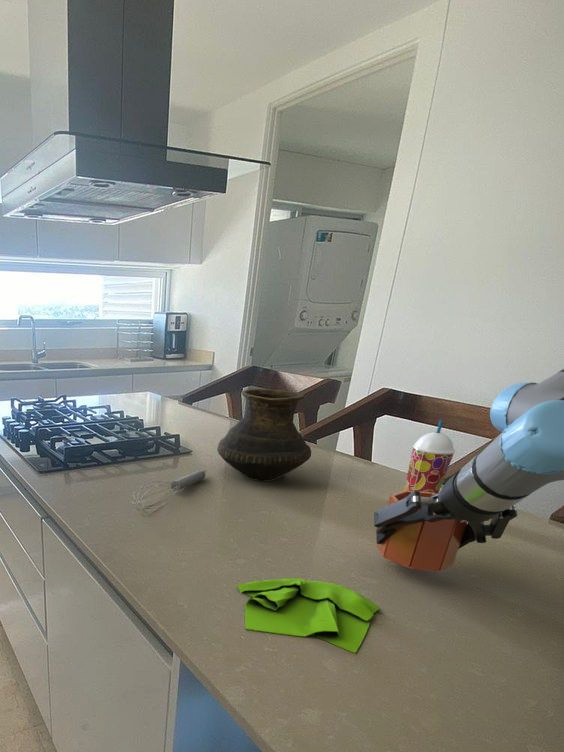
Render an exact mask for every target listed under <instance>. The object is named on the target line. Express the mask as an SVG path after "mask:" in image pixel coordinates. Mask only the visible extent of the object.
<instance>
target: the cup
mask: <svg viewBox="0 0 564 752" xmlns="http://www.w3.org/2000/svg"><path fill="white" fill-rule="evenodd" d="M411 492H414V491H407V490H405V491H404V489H403V490H400V491H397V492H394V493H391V494H390V495H389V499H388V503H387V506H388V505H391V504H393V503H395V502H397V501H399V500H401V499H404V498H406V497H407V496H408V495H409V494H410V493H411ZM434 494H435V493H431V492H420V496H421V497H431V496H432V495H434ZM433 515H436V514H435V513H434V512H433ZM467 524H468V522H467V521H465V520H455V519H451V520H447V519H444V520H440V521H436V522H429V521H423V522H419V523H415V524H411V525H407V526H403V527H399V528H396V532H395V533H394V534H392V535H391V536H390V537H389V538H388V539H386V540H385V541H384V542H383V543H382V544H377V543H376V548H377V549H378V551H379V552H380V554H381V556H382V557H383V558H384V559H386V560H387V561H391V562H394V563H396V564H398V565H401V566H402V567H405V568H408V569H409V568H410V569H411V570H420V571H430V572H437V573H438V572H442V571H444V570H446V569H448V568H450V567H452V566H454V562H455V560H456V557H457V555H458V551H459V549H458V548H459V545H460V542H461V540H462V537H463V534H464V531H465V528H466V525H467Z"/></svg>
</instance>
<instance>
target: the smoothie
mask: <svg viewBox="0 0 564 752" xmlns="http://www.w3.org/2000/svg"><path fill="white" fill-rule="evenodd" d="M443 423H444V420H441V419H440V420H439V422H438V426H437V428H436V429H437V430H436V431H433V432H431V431H430V432H428V433H425V434H423V435H422V436H420V437H419V438H418V439H417V440H416V442H415V443H413V445H412V450H411V455H410V459H409V465H408V469H407V475H406V480H405V484H404V488H403V490H404V491H405V490H407V491H419V492H431V493H435V494H437V493H440V491H441V489H442V485H443V483H444V480H445V478H446V475H447V472H448V470H449V467H450V464H451V462H452V460H453V458H454V457H453V456H454V455H455V452H456V449H454V444H453V441H452V439H451V438H450V437H449V436H448V435H447V434H445V433H443V432H441V430H442V427H443Z"/></svg>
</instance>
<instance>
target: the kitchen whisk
mask: <svg viewBox="0 0 564 752" xmlns="http://www.w3.org/2000/svg"><path fill="white" fill-rule="evenodd" d="M206 473H207V470H205V469H204V470H201V469H200V470H196V471H193V472H191V473H189V474H187V475H184V476H182V477H180V478H177V479H175V480H173V481H172V482H171V481H170V482H169V481H167V482H164V480H163V481H161V480H159V481H158V480H157V481H155V483H160V484H156V485H150V486H149V485H148V484H151V483H152V484H153V481H150V482H147V483H144V484H143V485H141V487H140V488H139V489H136V490H135V491H134V492H133V494H132V495H133V496H132V497H133V499H134V501H132V504H133V505H134V504H137V507H136V510H138V511H140V509H142V510H141V511H143V512H144V513H148V512H149V511H146V510H145V509H144V508H146V507H147V508H149V509H157V508H159V507H160V506H161V507H162V506H164V505H165V504H167V503H168V502H169V501H170V500H171V499H172V498H173V496H174V495H175V494H176V493H177V492H179V491H181V490H183V489H185V488H188V487H190V486H192V485H194V484H196V483H198V482H200V481H203V480H204V479H205V477H206ZM145 485H148V486H145ZM163 485H168V486H170V487H168V488H165V489H162V490H159V491H157V492H154V493H151V494H149V495H146V494H147V493H148V492H149V491H151V490H152V489H153V488H156V487H158V486H161V487H162V486H163ZM146 488H149V489H148V490H147V491H146V492H145V493H144V494H142V496H141V498H139V497H137V499H136V498H135V493H137V492H138V493H137V496H139V494H140V491H141V490H143V489H146ZM169 489H171V490H169ZM166 490H169V491H167V492H165V493H163V494H160V495H158V496H156V497H152V498H150V499H146V498H147V497H150V496H152V495H156V494H157V493H160V492H163V491H166ZM172 491H173V492H172ZM171 492H172V493H171ZM169 493H171V495H170V496H169V497H168V498H167V499H166V500H165V501H166V502H165V503H164V502H163V503H164V504H163V503H162V504H163V505H162V504H161V505H158V506H149V507H148V506H147V505H144V504H142V503H144V502H148V501H152V500H154V499H157V498H159V497H160V498H159V499H160V500H161V499H162V498H164V497H165V496H167V495H168V494H169ZM144 498H145V499H146V500H143V499H144ZM142 500H143V501H142ZM139 506H140V509H139ZM142 506H143V507H144V508H142ZM161 507H160V508H161Z"/></svg>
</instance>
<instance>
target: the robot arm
mask: <svg viewBox="0 0 564 752" xmlns="http://www.w3.org/2000/svg"><path fill="white" fill-rule="evenodd" d="M489 418H490V422H491V424H492V425H493V427H494V428H495V429H496V430H497V431H499V432H501V433H500V434H499V435H497V437H496V438H494V439H493V440H492V441H491V443H489V444H488V445H487V446H486V447H485V448H484V449H482V450H481V451H480V452H479V453H478V454H476V455H475V456H474V457H473V458H472V459H470V460H469V461H468V462H467V463H466V464H465V465H464V466H462V467H461V468H460V469H459V470H457V472H455V473H454V474H453V475H452V476H451V477H450V478H448V480H447V481H446V482H445V483H444V485H443V486H442V487H441V489H440V491H439V493H437V494H434V495H432V496H431V497H421V496H420V492H419V491H414V492H411V493H410V494H409V495H408V496H407V497H406V498H404V499H401V500H399V501H397V502H395V503H393V504H391V505H388V504H387V506H384V507H382V508H380V509H378V510H376V511H374V512H373V522H374V523H373V524H374V527H375V528H376V530H375V532H376V545H377V544H382V543H383V542H384V541H385V540H386V539H388V538H389V537H390V536H391V535H392V534H394V533H395V532H396V528H399V527H403V526H407V525H411V524H415V523H419V522H423V521H429V522H436V521H440V520H444V519H447V520H451V519H455V520H465V521H467V525H466V528H465V531H464V534H463V537H462V540H461V542H460V545H459V548H458V550H460V549H461V548H463V547H465V546H466V545H468V544H470V543H474V542H475V541H476V543H477V544H486V543H487V537H490V538H491V539H493V540H494V539H495V540H497V539H501V538H502V536H503V534H504V532H505V530H506V528H507V526H508V525H509V523H510V521H512V520H513V519H515V518H517V517H518V511H517V504H519V502H522V501H523V500H524V499H525V498H527V497H529V496H530V495H531V494H533V493H534V492H537V491H538V490H540V489H541V488H543V487H545V486H546V485H548V484H550V483H553V482H559V481H560V482H561V481H564V368H562V369H560V370H559V371H557V372H556V373H554V374H553V375H550V376H549V377H547V378H545V379H544V380H542V381H541V382H539V383H537V382H532V381H531V382H519V383H514V384H511V385H509V386H508V387H505V388H504V389H503V390H502V391H500V393H498V394H497V396H496V397H495V398H494V400H493V402H492V403H491V406H490V411H489ZM433 512H434V513H435V514H436V515H433ZM488 521H489V524H485V522H488Z"/></svg>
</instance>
